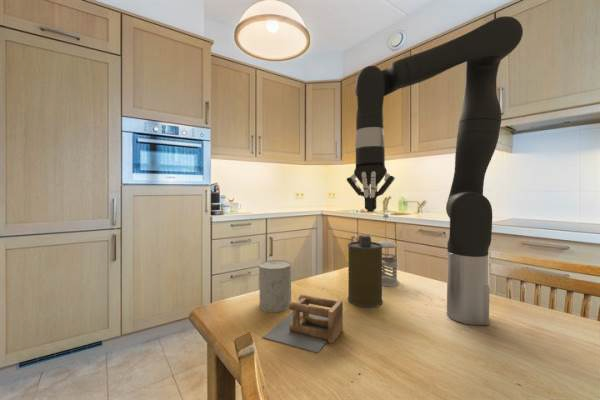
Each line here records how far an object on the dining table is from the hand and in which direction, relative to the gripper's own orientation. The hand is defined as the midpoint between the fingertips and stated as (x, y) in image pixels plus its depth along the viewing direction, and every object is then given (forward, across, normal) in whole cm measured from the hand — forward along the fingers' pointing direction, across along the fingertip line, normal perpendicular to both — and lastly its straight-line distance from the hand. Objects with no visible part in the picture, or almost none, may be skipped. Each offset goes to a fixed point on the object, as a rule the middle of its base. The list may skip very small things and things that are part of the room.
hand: (370, 211), depth 75 cm
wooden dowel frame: (+24, +5, +15) cm, 29 cm away
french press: (+28, +1, -29) cm, 41 cm away
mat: (+28, +13, +15) cm, 34 cm away
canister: (+28, +4, -9) cm, 30 cm away
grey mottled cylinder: (+28, +27, +5) cm, 40 cm away
